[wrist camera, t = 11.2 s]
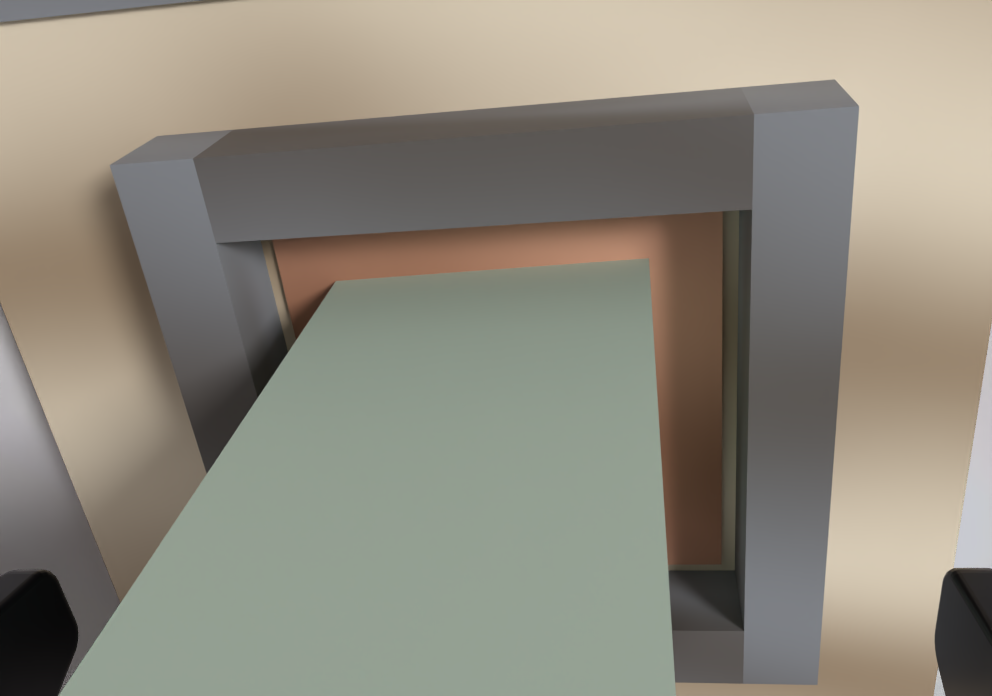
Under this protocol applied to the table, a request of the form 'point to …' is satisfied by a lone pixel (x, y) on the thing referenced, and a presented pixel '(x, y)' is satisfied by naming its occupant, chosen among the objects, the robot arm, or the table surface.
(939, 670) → the robot arm
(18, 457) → the table surface
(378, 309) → the block
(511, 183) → the board
